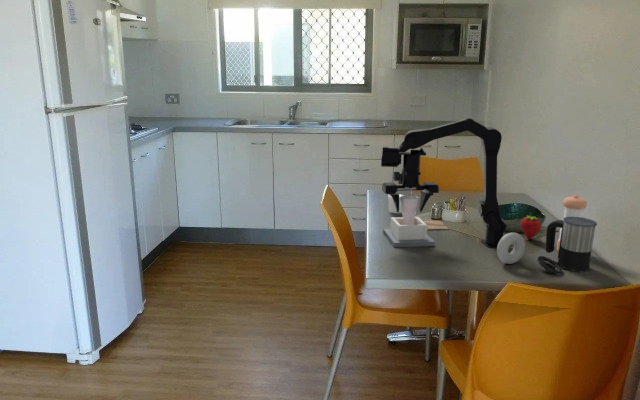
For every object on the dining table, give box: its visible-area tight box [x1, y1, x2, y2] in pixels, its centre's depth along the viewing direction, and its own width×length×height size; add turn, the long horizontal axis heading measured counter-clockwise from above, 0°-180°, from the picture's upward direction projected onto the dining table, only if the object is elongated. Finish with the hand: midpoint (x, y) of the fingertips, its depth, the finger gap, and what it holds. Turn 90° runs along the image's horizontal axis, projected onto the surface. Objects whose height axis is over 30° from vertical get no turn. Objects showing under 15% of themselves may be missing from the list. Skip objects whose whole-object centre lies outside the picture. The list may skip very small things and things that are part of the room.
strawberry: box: [520, 213, 542, 240], centre depth 186 cm, size 6×8×10 cm
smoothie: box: [400, 190, 420, 225], centre depth 183 cm, size 6×6×14 cm
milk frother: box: [537, 217, 598, 274], centre depth 158 cm, size 14×16×15 cm
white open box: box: [382, 216, 436, 248], centre depth 185 cm, size 16×14×6 cm
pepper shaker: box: [556, 194, 588, 252], centre depth 173 cm, size 7×7×19 cm
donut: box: [496, 232, 526, 265], centre depth 163 cm, size 10×3×10 cm, turn 113°
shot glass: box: [387, 193, 404, 214], centre depth 220 cm, size 7×7×7 cm
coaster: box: [422, 219, 450, 231], centre depth 202 cm, size 11×11×1 cm
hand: (409, 211), depth 184 cm, fingers closed on smoothie, 8 cm apart
